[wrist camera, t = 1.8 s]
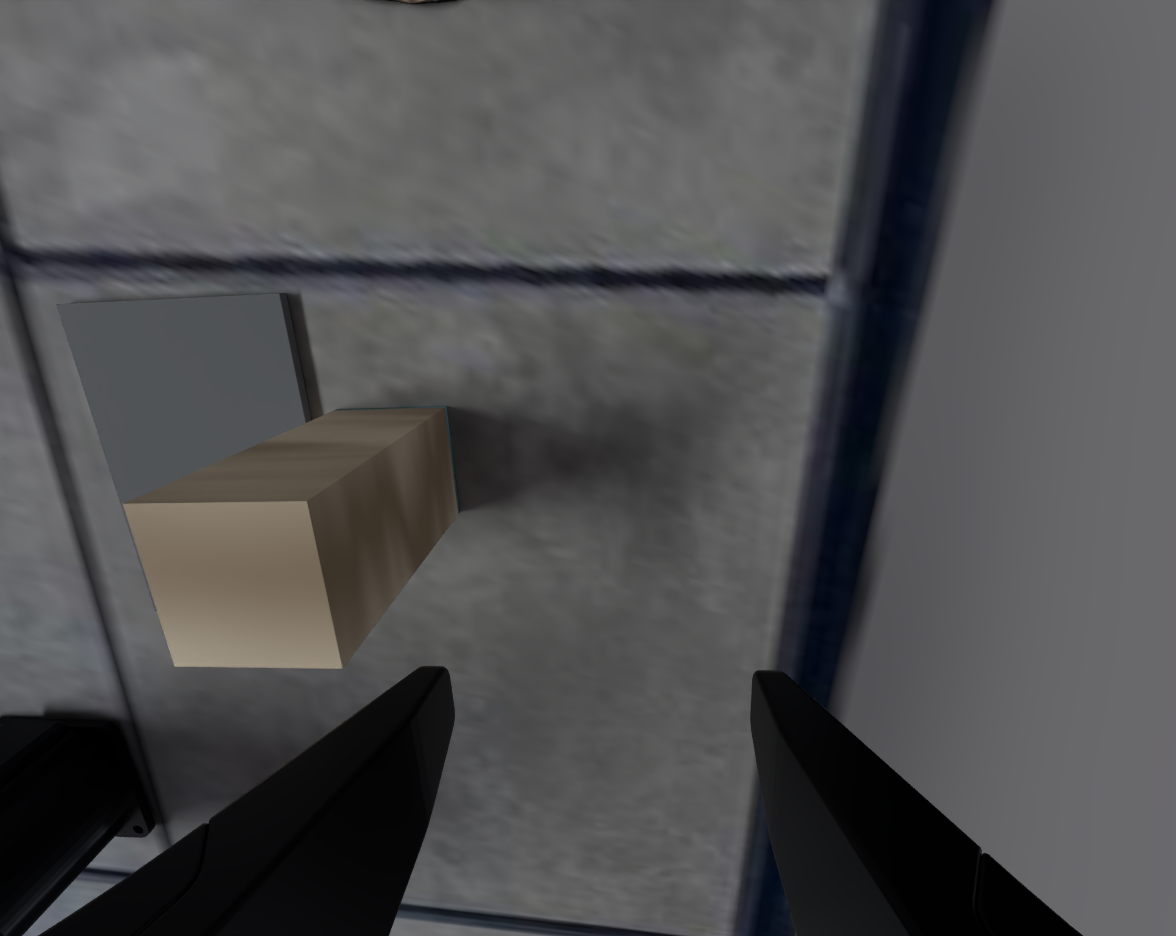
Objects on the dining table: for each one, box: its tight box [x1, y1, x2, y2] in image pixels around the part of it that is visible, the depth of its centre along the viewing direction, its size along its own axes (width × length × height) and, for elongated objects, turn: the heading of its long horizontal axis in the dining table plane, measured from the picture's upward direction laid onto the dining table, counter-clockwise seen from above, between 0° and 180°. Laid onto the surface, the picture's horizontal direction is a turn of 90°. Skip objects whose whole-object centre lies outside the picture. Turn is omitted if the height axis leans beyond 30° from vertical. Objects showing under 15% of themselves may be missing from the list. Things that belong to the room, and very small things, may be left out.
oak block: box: [123, 406, 460, 669], centre depth 17 cm, size 4×4×9 cm
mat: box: [56, 293, 312, 611], centre depth 21 cm, size 12×8×1 cm, turn 3°
